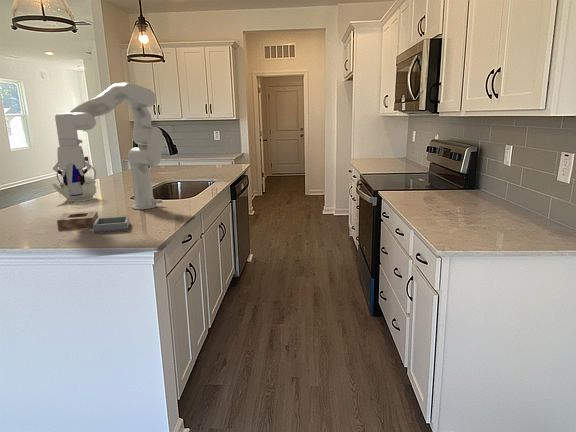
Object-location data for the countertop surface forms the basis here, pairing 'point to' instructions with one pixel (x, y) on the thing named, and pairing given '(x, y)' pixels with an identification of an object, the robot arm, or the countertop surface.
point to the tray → (111, 224)
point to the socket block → (77, 220)
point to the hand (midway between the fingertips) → (74, 184)
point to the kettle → (87, 188)
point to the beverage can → (73, 181)
